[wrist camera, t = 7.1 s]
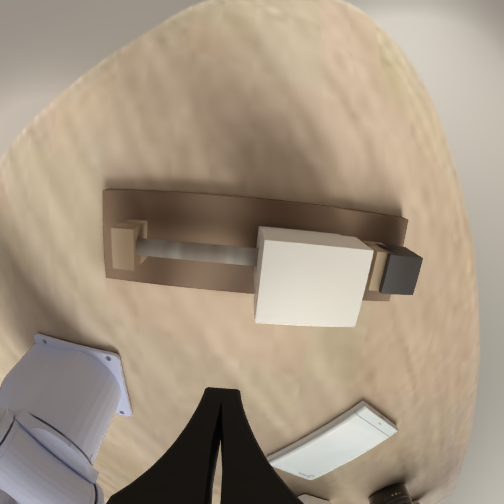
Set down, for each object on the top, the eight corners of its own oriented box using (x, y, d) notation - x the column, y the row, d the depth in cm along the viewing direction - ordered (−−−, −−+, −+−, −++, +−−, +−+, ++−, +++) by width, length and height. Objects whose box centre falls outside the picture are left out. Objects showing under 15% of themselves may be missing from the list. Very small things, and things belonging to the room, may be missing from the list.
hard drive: (311, 481, 27) (399, 432, 24) (266, 464, 25) (366, 407, 22) (310, 471, 28) (394, 422, 26) (266, 452, 26) (361, 396, 24)
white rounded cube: (252, 281, 18) (255, 322, 13) (259, 217, 17) (264, 239, 12) (329, 286, 18) (354, 326, 14) (341, 226, 17) (373, 250, 12)
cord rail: (110, 273, 19) (87, 294, 16) (108, 188, 17) (80, 195, 14) (384, 296, 20) (405, 320, 17) (402, 217, 18) (430, 229, 15)
